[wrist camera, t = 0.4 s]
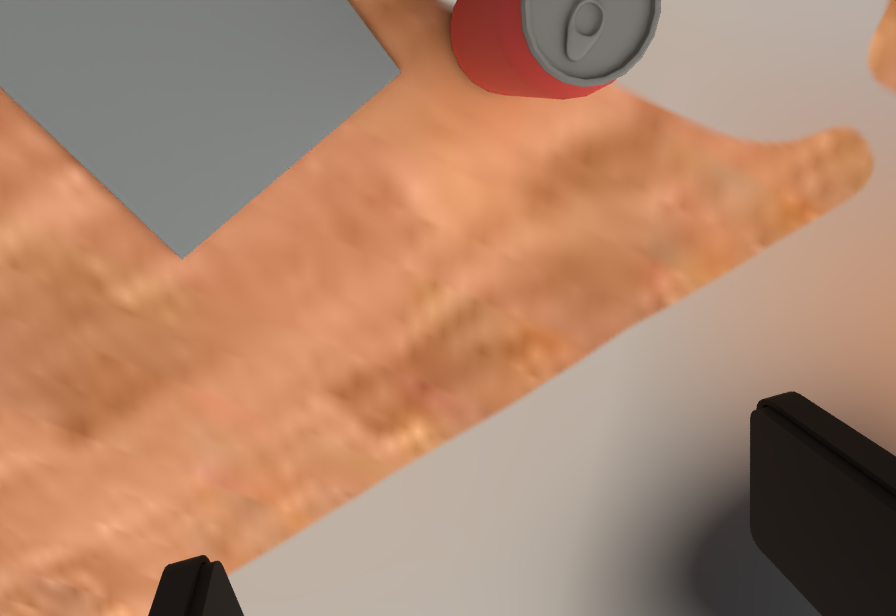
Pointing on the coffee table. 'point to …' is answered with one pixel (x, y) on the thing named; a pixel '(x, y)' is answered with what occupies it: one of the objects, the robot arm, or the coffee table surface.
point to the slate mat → (188, 94)
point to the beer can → (550, 43)
